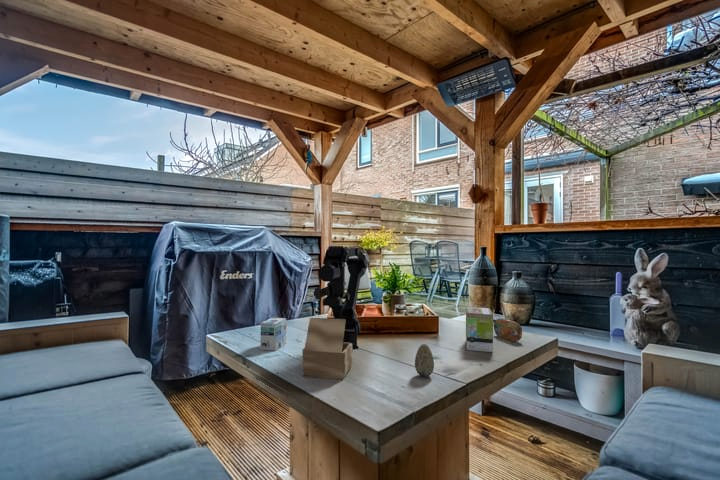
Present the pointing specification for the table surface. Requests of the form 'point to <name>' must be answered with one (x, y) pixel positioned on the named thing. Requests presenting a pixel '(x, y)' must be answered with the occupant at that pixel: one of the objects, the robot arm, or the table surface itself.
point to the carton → (327, 363)
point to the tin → (508, 329)
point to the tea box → (479, 329)
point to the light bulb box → (273, 334)
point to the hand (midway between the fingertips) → (336, 322)
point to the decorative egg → (424, 361)
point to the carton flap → (325, 335)
